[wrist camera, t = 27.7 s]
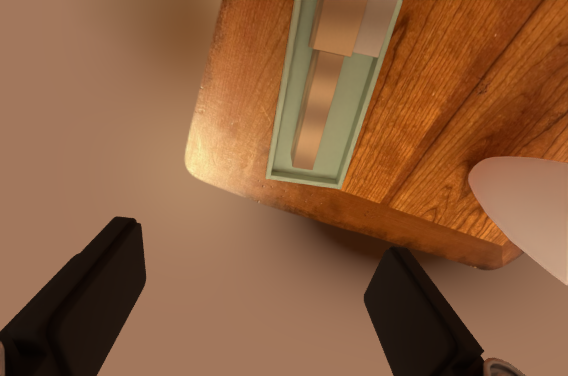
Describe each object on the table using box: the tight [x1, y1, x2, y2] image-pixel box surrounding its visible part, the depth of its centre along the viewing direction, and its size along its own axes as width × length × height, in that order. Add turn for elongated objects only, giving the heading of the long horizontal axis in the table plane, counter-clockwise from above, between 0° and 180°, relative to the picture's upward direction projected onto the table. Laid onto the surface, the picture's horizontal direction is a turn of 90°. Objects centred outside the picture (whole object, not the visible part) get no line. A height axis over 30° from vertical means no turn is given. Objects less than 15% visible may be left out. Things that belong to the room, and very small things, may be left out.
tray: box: [266, 0, 403, 189], centre depth 28 cm, size 10×21×2 cm, turn 169°
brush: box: [290, 0, 398, 170], centre depth 26 cm, size 18×6×4 cm, turn 170°
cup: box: [468, 156, 568, 286], centre depth 25 cm, size 10×10×22 cm
